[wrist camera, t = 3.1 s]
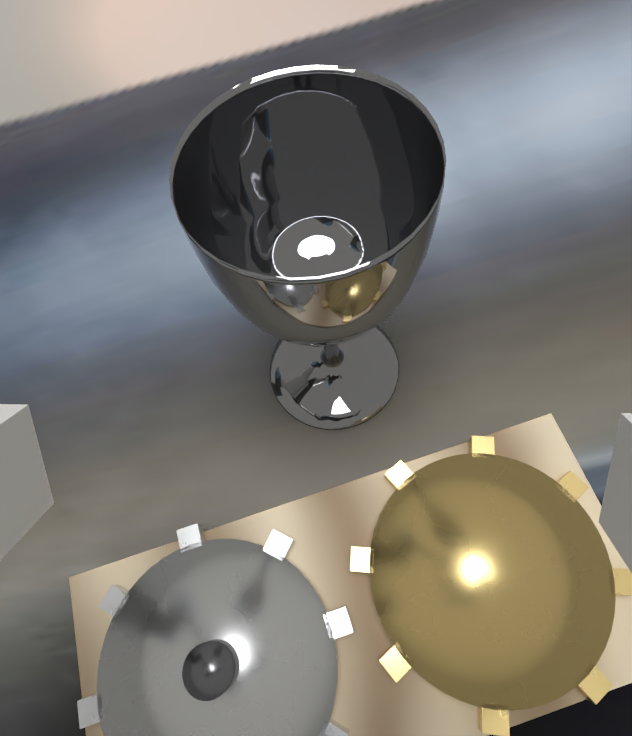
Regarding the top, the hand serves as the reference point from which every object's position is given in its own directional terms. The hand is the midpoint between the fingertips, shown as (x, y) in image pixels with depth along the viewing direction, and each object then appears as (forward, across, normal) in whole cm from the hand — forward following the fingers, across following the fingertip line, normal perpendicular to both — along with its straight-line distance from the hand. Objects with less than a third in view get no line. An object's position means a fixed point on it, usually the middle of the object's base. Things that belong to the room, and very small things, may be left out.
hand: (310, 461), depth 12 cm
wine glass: (+16, -1, -4) cm, 17 cm away
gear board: (+8, +1, -13) cm, 15 cm away
